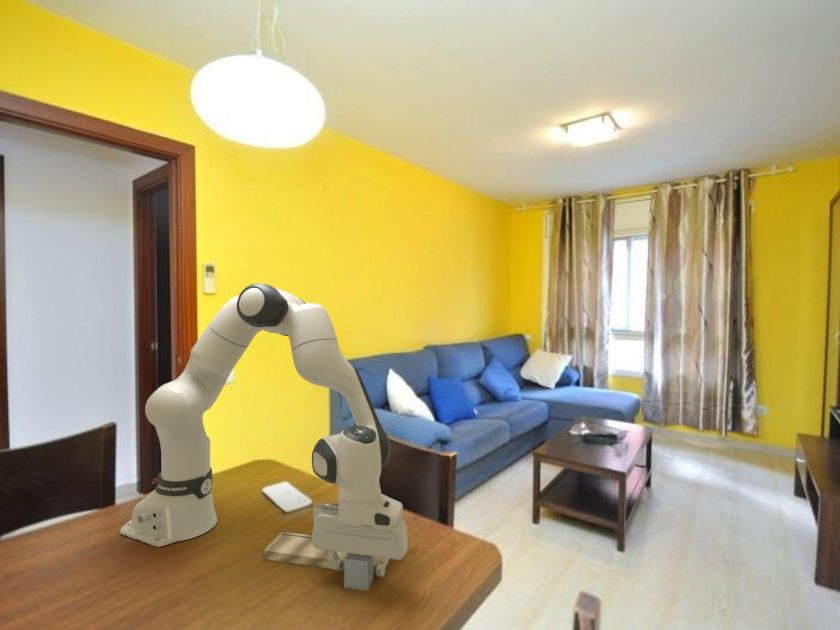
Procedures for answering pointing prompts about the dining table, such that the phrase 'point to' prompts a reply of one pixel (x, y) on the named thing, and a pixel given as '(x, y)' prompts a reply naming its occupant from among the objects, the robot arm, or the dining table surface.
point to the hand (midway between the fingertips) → (359, 571)
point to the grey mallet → (358, 571)
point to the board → (303, 552)
